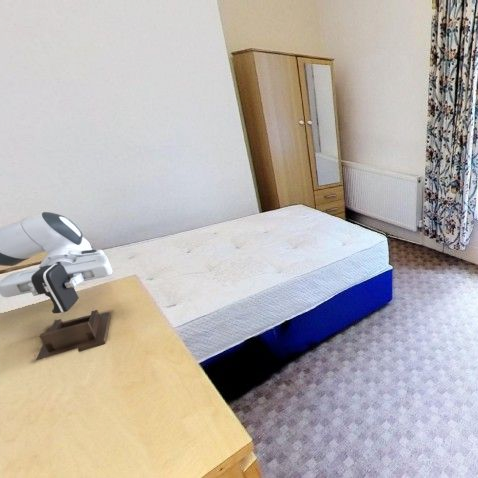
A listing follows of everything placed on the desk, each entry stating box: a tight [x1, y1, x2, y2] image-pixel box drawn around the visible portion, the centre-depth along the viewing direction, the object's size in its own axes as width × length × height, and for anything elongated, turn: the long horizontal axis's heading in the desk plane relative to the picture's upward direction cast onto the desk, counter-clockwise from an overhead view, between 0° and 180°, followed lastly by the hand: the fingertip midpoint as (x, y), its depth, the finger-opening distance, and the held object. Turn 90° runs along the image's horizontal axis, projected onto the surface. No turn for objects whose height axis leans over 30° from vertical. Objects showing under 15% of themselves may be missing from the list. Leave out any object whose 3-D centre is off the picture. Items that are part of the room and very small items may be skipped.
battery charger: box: [31, 264, 79, 314], centre depth 80 cm, size 7×4×11 cm, turn 25°
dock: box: [35, 309, 112, 361], centre depth 84 cm, size 12×15×6 cm
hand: (53, 289), depth 79 cm, fingers closed on battery charger, 4 cm apart
